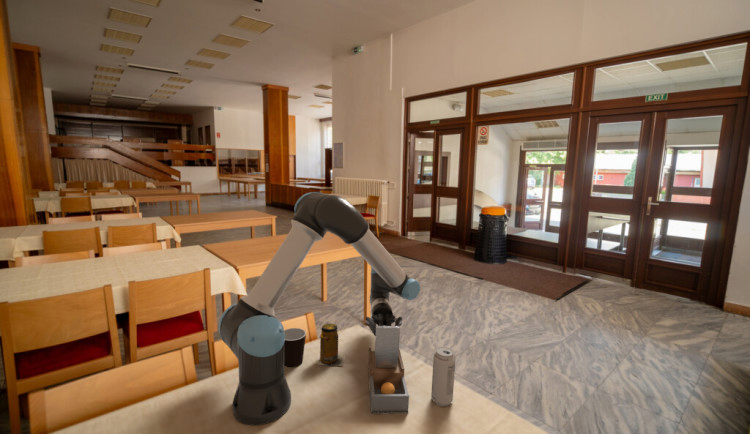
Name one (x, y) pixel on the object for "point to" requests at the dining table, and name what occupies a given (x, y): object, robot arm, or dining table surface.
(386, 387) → the ball
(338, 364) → the condiment
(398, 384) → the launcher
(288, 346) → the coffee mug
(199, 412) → the dining table surface
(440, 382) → the energy drink can
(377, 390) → the grey open box
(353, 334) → the dining table surface
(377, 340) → the gray rectangular panel
